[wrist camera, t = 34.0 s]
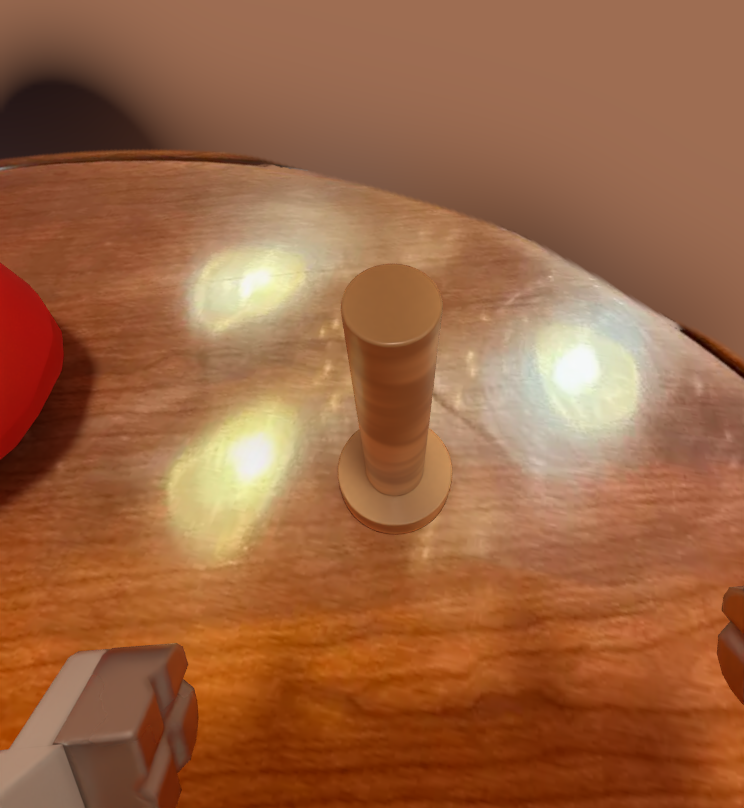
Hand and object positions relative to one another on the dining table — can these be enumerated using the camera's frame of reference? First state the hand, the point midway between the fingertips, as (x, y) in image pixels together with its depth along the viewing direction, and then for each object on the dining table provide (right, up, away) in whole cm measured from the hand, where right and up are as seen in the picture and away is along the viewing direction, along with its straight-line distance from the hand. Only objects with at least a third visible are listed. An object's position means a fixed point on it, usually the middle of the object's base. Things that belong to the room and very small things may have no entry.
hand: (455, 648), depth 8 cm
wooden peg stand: (0, 0, +18) cm, 18 cm away
